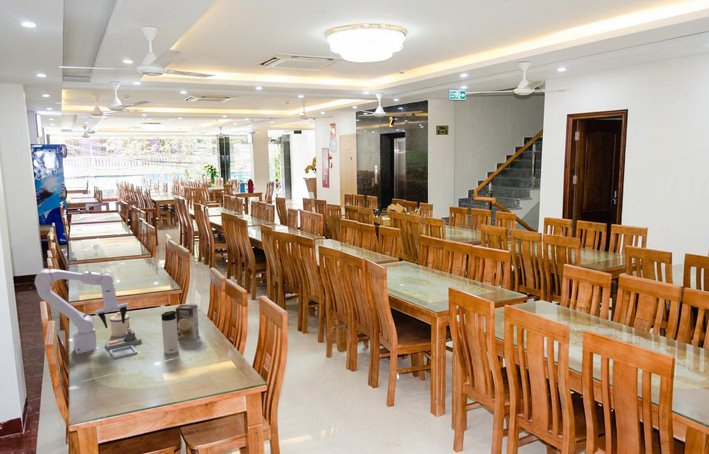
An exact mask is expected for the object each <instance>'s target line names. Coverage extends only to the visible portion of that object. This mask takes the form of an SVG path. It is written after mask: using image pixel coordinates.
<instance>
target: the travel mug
mask: <svg viewBox="0 0 709 454" xmlns="http://www.w3.org/2000/svg"><path fill="white" fill-rule="evenodd" d="M161 329H162V332H161V333H162V342H163V354H164V355H167V356H171V355H175V354H179V343H178V341H179V339H178V338H177V322H176V310H170V311H166V312H163V313H162V314H161Z"/></svg>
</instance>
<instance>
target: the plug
mask: <svg viewBox="0 0 709 454" xmlns="http://www.w3.org/2000/svg"><path fill="white" fill-rule="evenodd" d="M127 330H128V332H124V335H125V336H124V338H125V342H128V341H133V340H135V336H136V332H135V331H134V330H132V328H131V327H130V328H128V329H127Z"/></svg>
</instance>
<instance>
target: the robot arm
mask: <svg viewBox="0 0 709 454" xmlns="http://www.w3.org/2000/svg"><path fill="white" fill-rule="evenodd" d="M92 271H93V270H88V271H84V272H82V273H81V272H74V271H69V270H63V269H58V268H57V269H56V268H51V269H50V268H42V269H40V270H39V272H38V273H37V274H36V276H35V278H34V285H35V287H36V290H37V291H36V292H37V293H38V297H39V298H41V299H42V300H43V301H45V302H46V303H48V305H50V306H51V307H53V308H54V309H56V310H57V311H58V312H59V313H61V314H62V315H63V316H65V317H66V318H67V319H68V320H69V321H71V322H72V323H73V325H74V326H75V327H76V328H77V330H78V331H77V332H76V333H73V335H72V337H73V339H72V340H73V350H74V351H75V354H82V353H86V352H90V351H95V350H99V349H100V348H99V346H98V345H97V344H98V343H97V334H96V328H94V322H95V320H94V317H93V316H91V314H90V315H88V314H85V313H84V312H83V311H79V310H78V309H77V308H75V307H74V306H73V305H72V304H70V303H69V302H67V300H65V299H64V298H62V297H61V296H60V295H59V294H57V293H56V292H54V291H53V290H52V282H53V283H54V282H57V281H59V280H71V281H72V280H73V281H80V282H81V283H82V284H85V285H91V286H92V285H93V286H100V287H101V295H102V299H103V305H104V307H102V308H100V309H97V310H94V314H95V316H98V317H99V318H100V320H101V321H102V323H103V324H104V327H105V329H108V324H107V320H106V313H110V312H113V311H118V310H119V312H120V313H121V319H122V323H125V315H127V311H128V309H127V308H129V303H128V302H125V303H118V299H117V293H116V288H115V284H114V276H113V275H112V273H111V274H110V273H109V272H100V273H99V272H94V271H93V272H92Z"/></svg>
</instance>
